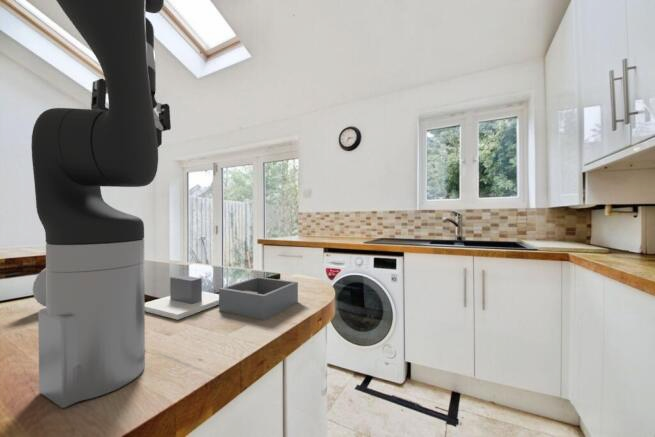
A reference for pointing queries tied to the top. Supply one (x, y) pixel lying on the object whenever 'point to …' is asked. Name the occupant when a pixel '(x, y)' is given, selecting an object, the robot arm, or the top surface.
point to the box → (258, 297)
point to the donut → (40, 288)
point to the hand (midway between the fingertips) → (135, 142)
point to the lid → (183, 299)
